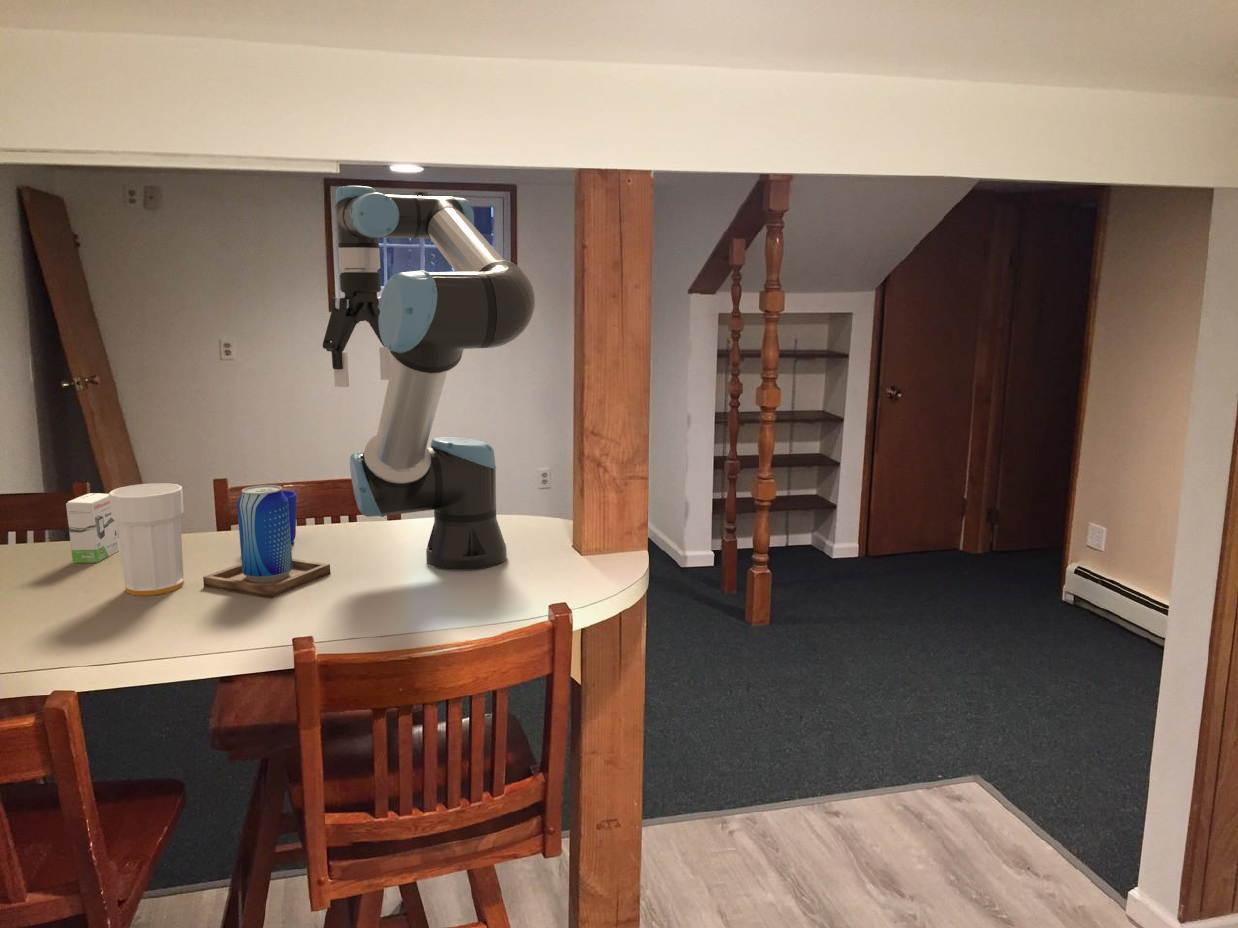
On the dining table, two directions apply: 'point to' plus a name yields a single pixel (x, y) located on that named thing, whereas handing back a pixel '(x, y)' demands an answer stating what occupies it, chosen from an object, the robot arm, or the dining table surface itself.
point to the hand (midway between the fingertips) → (365, 383)
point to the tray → (239, 583)
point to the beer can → (264, 533)
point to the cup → (149, 536)
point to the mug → (291, 512)
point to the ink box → (91, 528)
